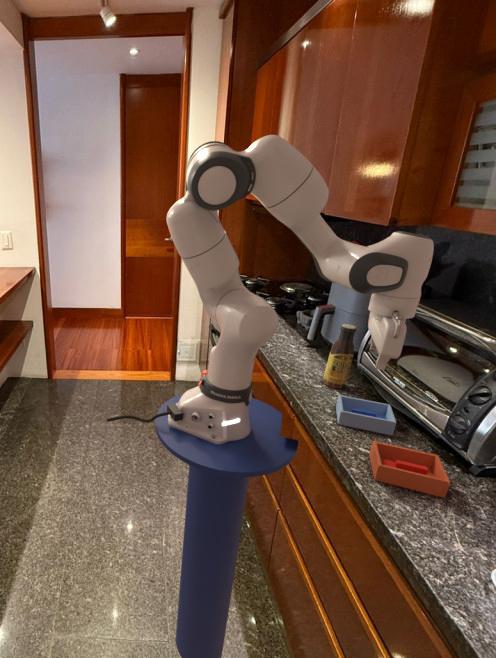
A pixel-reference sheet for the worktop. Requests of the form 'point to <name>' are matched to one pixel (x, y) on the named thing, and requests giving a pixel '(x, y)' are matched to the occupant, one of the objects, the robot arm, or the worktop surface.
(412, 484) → the terracotta bin
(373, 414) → the blue spoon
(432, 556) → the worktop surface
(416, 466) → the red spoon
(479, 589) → the worktop surface
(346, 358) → the sauce bottle
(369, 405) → the blue bin
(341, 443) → the worktop surface
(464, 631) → the worktop surface
